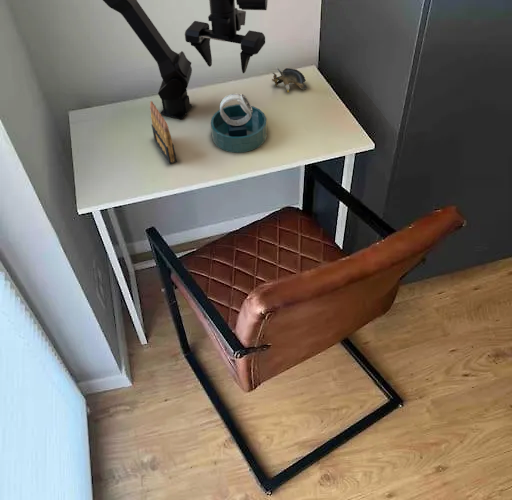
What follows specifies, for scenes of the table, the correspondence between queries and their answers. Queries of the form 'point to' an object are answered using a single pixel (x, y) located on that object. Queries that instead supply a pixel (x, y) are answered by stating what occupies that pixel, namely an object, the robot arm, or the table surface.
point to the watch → (238, 123)
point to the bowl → (244, 143)
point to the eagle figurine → (290, 78)
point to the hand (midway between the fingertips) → (227, 69)
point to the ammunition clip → (162, 134)
